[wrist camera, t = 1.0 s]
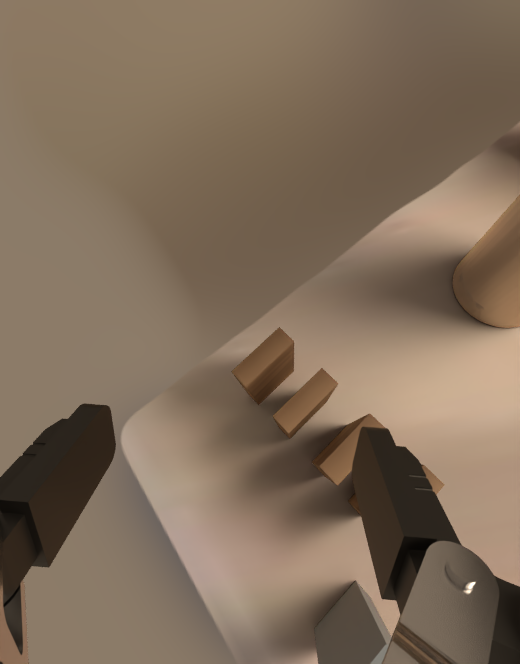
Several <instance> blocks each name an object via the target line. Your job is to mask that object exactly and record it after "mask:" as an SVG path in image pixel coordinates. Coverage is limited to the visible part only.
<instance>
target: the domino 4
mask: <svg viewBox="0 0 520 664" xmlns="http://www.w3.org/2000/svg"><path fill="white" fill-rule="evenodd" d="M314 631H315V640H316V648H317V657H318V664H382V661H383V659H384V656H385V654H386V651H387V648H388V646H389V643H390V641H391V638H392V637H391V635H390V634H389V632H388V630H387V628H386V626H385V624H384V622H383V620H382V618H381V617H380V615H379V613H378V611H377V609H376V607H375V605H374V603H373V602H372V600H371V598H370V597H369V595H368V594H367V593H366V592H365V591H364V590H363V588H362V587H361V586H360V585H359V584H358V583H357V581H355V582H354V583H353V584H352V585H351V586H350V588H349V589H348V590H347V591H346V592H345V593H344V595H343V596H342V597H341V598H340V599H339V600H338V602H337V603H336V604H335V605H334V606H333V607H332V608H331V610H330V611H329V612H328V613H327V614H326V615H325V617H324V618H323V619H322V620H321V621H320V622H319V624H318V625H317V626H316V627H315V628H314Z"/></svg>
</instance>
